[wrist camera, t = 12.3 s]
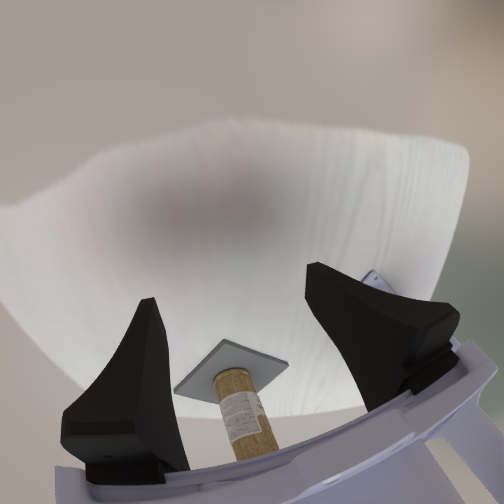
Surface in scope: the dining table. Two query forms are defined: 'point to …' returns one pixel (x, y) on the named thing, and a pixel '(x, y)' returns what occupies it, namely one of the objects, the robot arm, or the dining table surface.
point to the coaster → (227, 359)
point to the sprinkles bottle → (244, 415)
